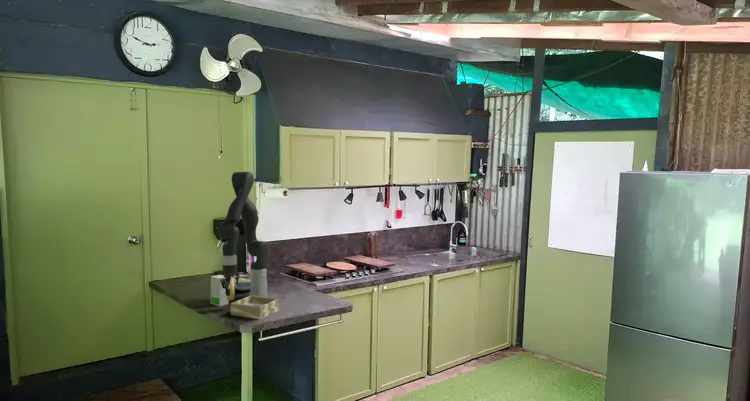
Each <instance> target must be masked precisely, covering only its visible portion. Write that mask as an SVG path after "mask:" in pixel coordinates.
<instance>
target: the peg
mask: <svg viewBox="0 0 750 401" xmlns="http://www.w3.org/2000/svg"><path fill="white" fill-rule="evenodd" d="M227 283H229V282H227ZM227 287H228V284H227ZM229 289H230V296H227V300H229V301H230V302H231V301H235V293H234V278H232V280H231V285H230V288H229ZM229 301H228V302H229Z"/></svg>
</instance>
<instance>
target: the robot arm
mask: <svg viewBox="0 0 750 401" xmlns="http://www.w3.org/2000/svg"><path fill="white" fill-rule="evenodd" d="M254 178H255V177H254V174H253V173H252V172H250V171H236V172H233V173H232V175H231V183H232V188H233V191H234V194H235V196H236V197H235V198H234V199H233V200H232V202H231V203H230V205H229V206H228V210H227V214H226V217H225V219H224V220H223V221H222V223H221V225H220V227H219V229H218V236H219V238H220V239H223V240H229V242H227V243H224V244H223V245H222V258H221V259H222V261H221V263H222V273H223V274H224V275H223V276H224V278H221V279H220V281H221V284H222V288H224V289H225V294H226V296H230V289H229V288H230V285H231V280H232V278H234V294H235V293H236V289H235V286H236V285H237V284H238V280H239V274H237V273H238V257H237V244H238V241H239V237H240V229H239V228H238V227H237V226H235V224H238V223H239V222H240V220H241V222H242V224H243V230H244V234H245V241H246V249H247V250H246V251H247V253H248V254H249V255H250V256H251V257H256V258H255V261H253V262H251V263H250V273H249V274H250V294H249V296H251V295H253V296H260V297H267V298H268V280H267V276H268V275H267V269H268V268H267V267H268V263H269V251H270V250H269V249H270V248H269V245H268V243H267V242H266V241H264V240H262V241H261V240H258V238H257V232H256V231H257V226H258V224H259V219H260V218H259V214H258V210H257V207H256V205H255V203H254V202H253V201H252V200H251V199H250V198H249V195H250V193H251V191H252V189H253V186H254V182H255V179H254ZM227 282H229V283H227ZM227 284H228V287H227ZM224 285H225V286H224Z"/></svg>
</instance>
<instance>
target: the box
mask: <svg viewBox="0 0 750 401" xmlns="http://www.w3.org/2000/svg"><path fill="white" fill-rule="evenodd" d="M280 301H281V300H280V298H274V297H268V296H267V297H260V296H253V295H251V296H250V295H249V296H245V297H243V298H241V299H238V300H236V301H234V302H230V315H232V316H238V317H244V318H248V319H249V318H251V319H256V320H261V319H263V318H266V317H268V316H270V315H272V314H275V313H277V312H279V311H280Z"/></svg>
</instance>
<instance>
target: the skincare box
mask: <svg viewBox="0 0 750 401" xmlns="http://www.w3.org/2000/svg"><path fill="white" fill-rule="evenodd" d="M221 278H224V275H222V274H217V275H211V276H210V304H211V305H213V306H218V307H222V306H226V305H229V300H227V296H226V294H225V289H224V288H222V284H221V281H220V279H221ZM224 286H225V285H224Z"/></svg>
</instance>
